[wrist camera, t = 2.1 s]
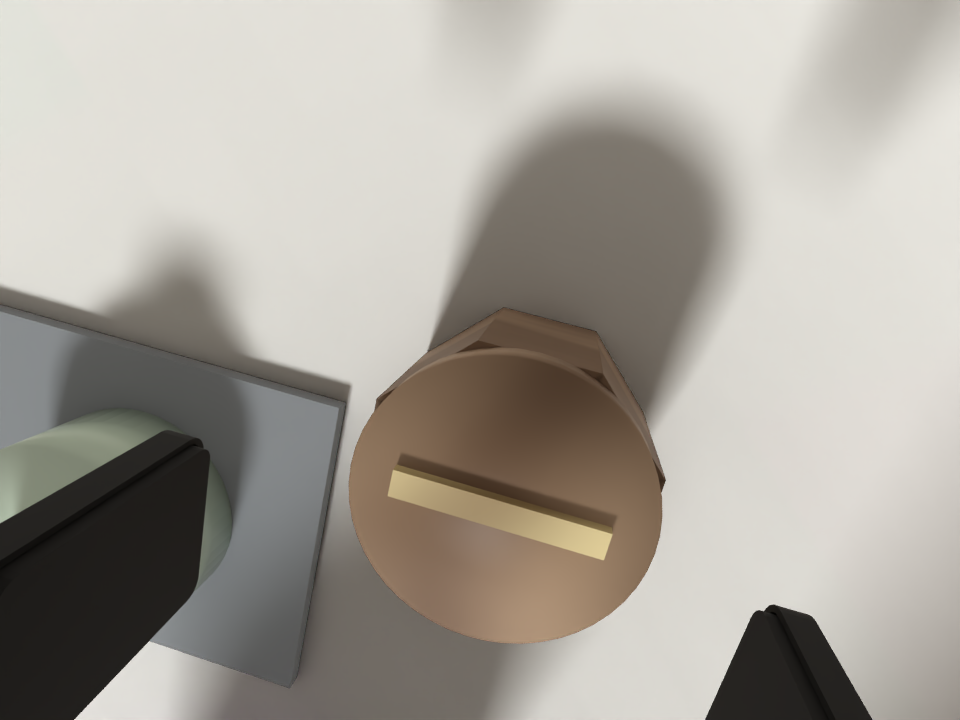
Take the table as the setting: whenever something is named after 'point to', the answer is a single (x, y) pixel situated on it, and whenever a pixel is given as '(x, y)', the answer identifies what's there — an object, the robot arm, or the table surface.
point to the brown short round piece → (509, 482)
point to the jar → (88, 445)
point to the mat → (235, 454)
